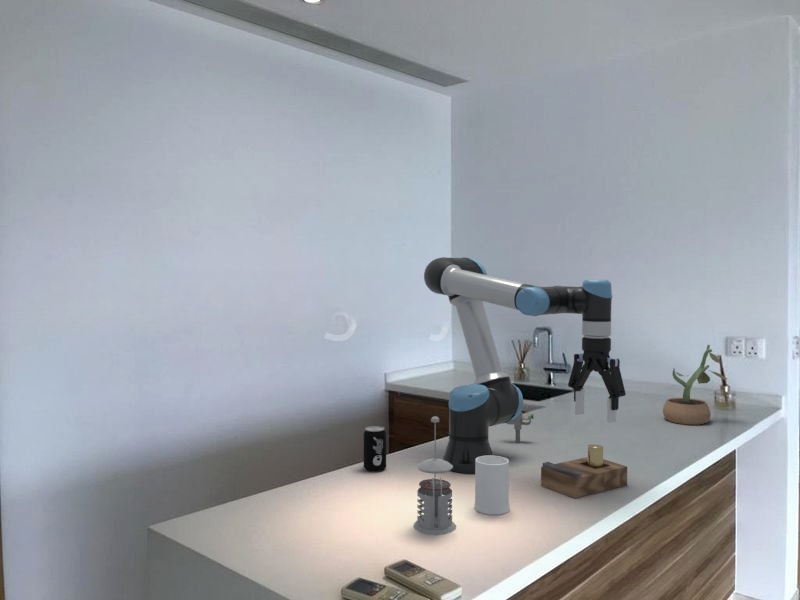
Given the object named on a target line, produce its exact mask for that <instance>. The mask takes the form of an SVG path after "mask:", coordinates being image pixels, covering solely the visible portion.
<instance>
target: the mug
mask: <svg viewBox="0 0 800 600" xmlns="http://www.w3.org/2000/svg"><path fill="white" fill-rule="evenodd" d="M474 476H475V477H474V478H475V479H474V483H475V484H474V485H475V486H474V492H475V493H474V506H473V508H474V510H475V511H476V512H478V513H479V514H484V515H489V516H490V515H491V516H498V515H499V516H501V515H504V514H508V512H510V509H511V508H510V502H509V501H510V500H509V498H510V497H509V496H510V493H509V492H510V488H509V487H510V484H509V483H510V460H509V459H508V458H507V457H504V456H499V455H494V454H493V455H487V456H480V457H477V458H476V459H475V473H474Z"/></svg>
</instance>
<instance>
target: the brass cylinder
mask: <svg viewBox="0 0 800 600" xmlns="http://www.w3.org/2000/svg"><path fill="white" fill-rule="evenodd" d="M587 457H588V467H591V468H594V469H598V468H602V467H603V459H604V446H603V445H601V444H595V443H593V444H592V443H591V444H588V445H587Z"/></svg>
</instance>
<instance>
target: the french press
mask: <svg viewBox="0 0 800 600" xmlns="http://www.w3.org/2000/svg"><path fill="white" fill-rule="evenodd" d="M430 422H431V423H434V457H432V458H427V459H424V460H423V461H421V462H419V463H418V464H417V465H416V467H417V469H418V471H420V472H422V473H428V474H434V478H433V477H432V478H427V479H423V480H421V481H420V482H419V483H418V485H419V486H420V487H419V488H418V489H417V497H418V498H417V503H418V504H417V508H418V509H419V510H417V512H416V513H417V514H418V515H417V520H416V521H415V522H414V523H413V525H412V527H413V529H414V530H415V531H417V532H419V533H421V534H425V535H432V536H433V535H434V536H438V535H446V534H450V533H453V532H454V531H455V530H456V529H457V524H456V523H455V522H454V521H453V509H452V508H453V504H452V503H453V498H452V497H453V490H452V489H451V488H450V487H451V485H452V483H450V481H447V480H446V479H442V478H441V477H440V478H437V477H436V474H444V473H448V472H450V471H451V469H452V468H453V466H452V465H451V464H450V463H449V462H447V461H444V460H443V458H436V456H437V455H436V453H437V452H436V448H437V447H436V446H437V443H436V441H437V440H436V439H437V438H436V437H437V432H436V431H437V425H436V423H440V418H439V416H436V415H435V416H432V417H431V418H430Z"/></svg>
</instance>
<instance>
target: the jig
mask: <svg viewBox="0 0 800 600" xmlns="http://www.w3.org/2000/svg"><path fill="white" fill-rule="evenodd" d="M540 486H543V487H544V488H547V489H550V490H553V491H555V492H558V493H560V494H563V495H565V496H568V497H570V498H573V499H577V498H581V497H585V496H589V495H594V494H597V493H601V492H604V491H608V490H613V489H616V488H620V487H621V488H622V487H624V486H628V466H627V465H624V464H621V463H617V462H614V461H610V460H607V459H605V458H603V467H602V468H598V469H594V468H591V467H588V456H586V457H581V458H577V459H572V460H568V461H567V460H566V461H562V462H557V463H553V462H550V461H545V462H542V466H541V468H540Z"/></svg>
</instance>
